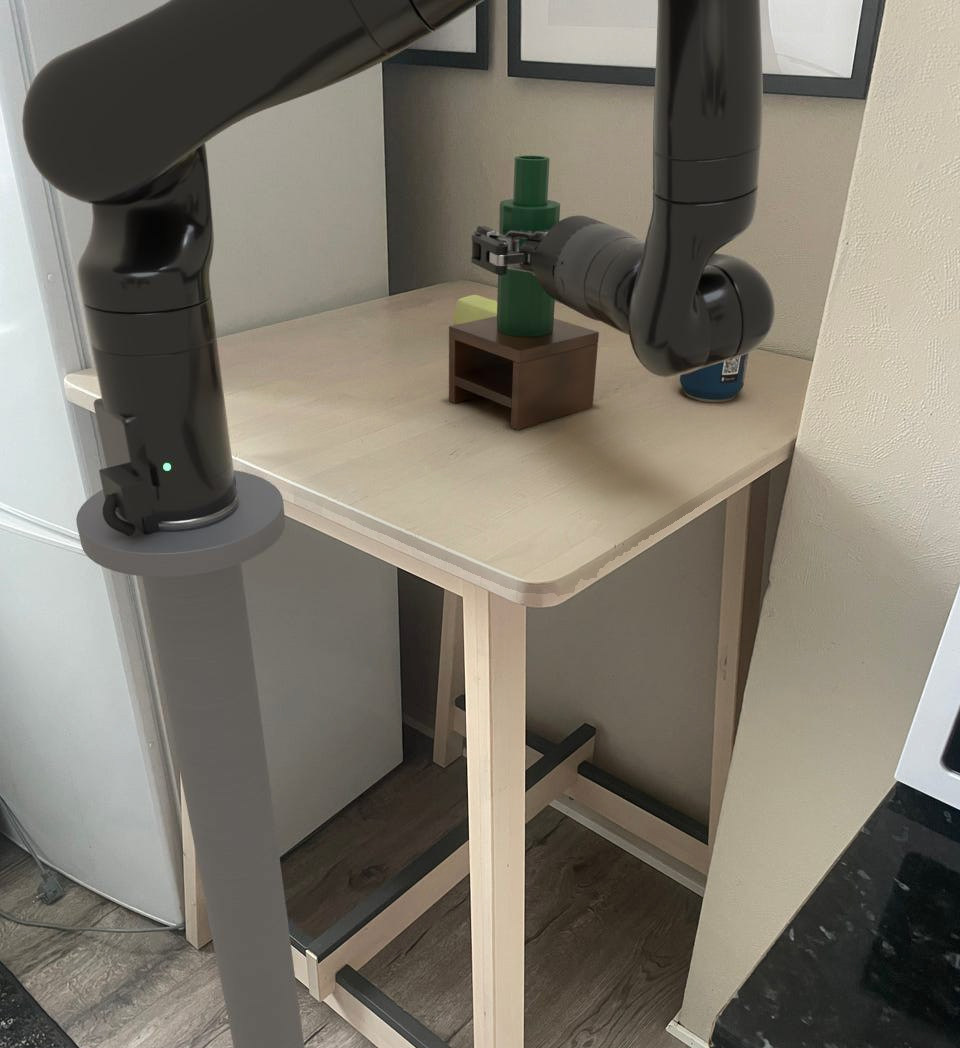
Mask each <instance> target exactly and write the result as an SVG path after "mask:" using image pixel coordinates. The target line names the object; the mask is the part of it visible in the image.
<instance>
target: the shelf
mask: <svg viewBox="0 0 960 1048" xmlns="http://www.w3.org/2000/svg"><path fill="white" fill-rule="evenodd" d="M599 336H600V332H599V331H597V330H593V329H590V328H587V327H584V326H580V325H577V324H574V323H571V322H567V321H564V320H561V319H558V318H555V317H554V323H553V331H552V332H551V333H550V334H547V335H544V336H537V337H518V336H511V335H507V334H503V333H501V332H499V331H498V330H497V316H495V317H490V318H485V319H480V320H476V321H471V322H466V323H462V324H457V325H454V324H453V325H449V326H448V401H449V402H451V403H453V404H457V403H460V402H464V401H468V400H473V399H475V398H480V397H482V398H485V399H488V400H490V401H493V402H495V403H497V404H500V405H502V406H505V407H508V408H510V409H511V410H510V411H511V412H510V413H511V414H510V416H511V417H510V428H512V429H514V430H516V431H518V430H522V429H525V428H528V427H532V426H535V425H538V424H541V423H544V422H548V421H551V420H554V419H558V418H561V417H564V416H565V417H566V416H568V415H572V414H574V413H578V412H580V411H584V410H587V409H591V408H593V407H594V395H595V383H596V370H597V359H598V358H597V357H598V348H599V347H598V346H599V338H600V337H599Z"/></svg>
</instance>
